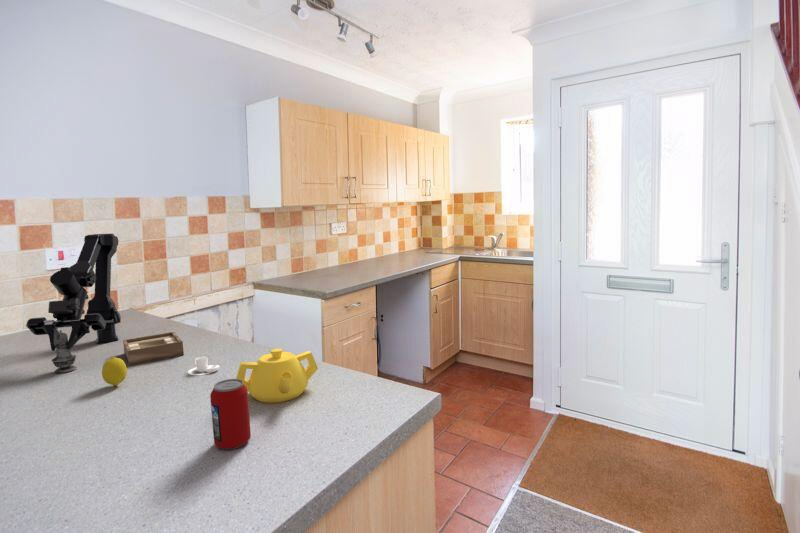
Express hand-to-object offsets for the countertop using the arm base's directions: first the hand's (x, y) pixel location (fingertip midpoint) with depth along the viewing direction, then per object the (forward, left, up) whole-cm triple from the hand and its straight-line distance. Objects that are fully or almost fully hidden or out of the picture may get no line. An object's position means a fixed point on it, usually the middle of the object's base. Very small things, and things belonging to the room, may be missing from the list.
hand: (60, 349), depth 130 cm
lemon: (+23, +11, -7) cm, 27 cm away
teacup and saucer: (+28, +31, -7) cm, 43 cm away
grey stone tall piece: (-1, +1, -7) cm, 7 cm away
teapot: (+57, +43, -7) cm, 72 cm away
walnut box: (-1, +23, -7) cm, 24 cm away
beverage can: (+73, +27, -7) cm, 78 cm away
